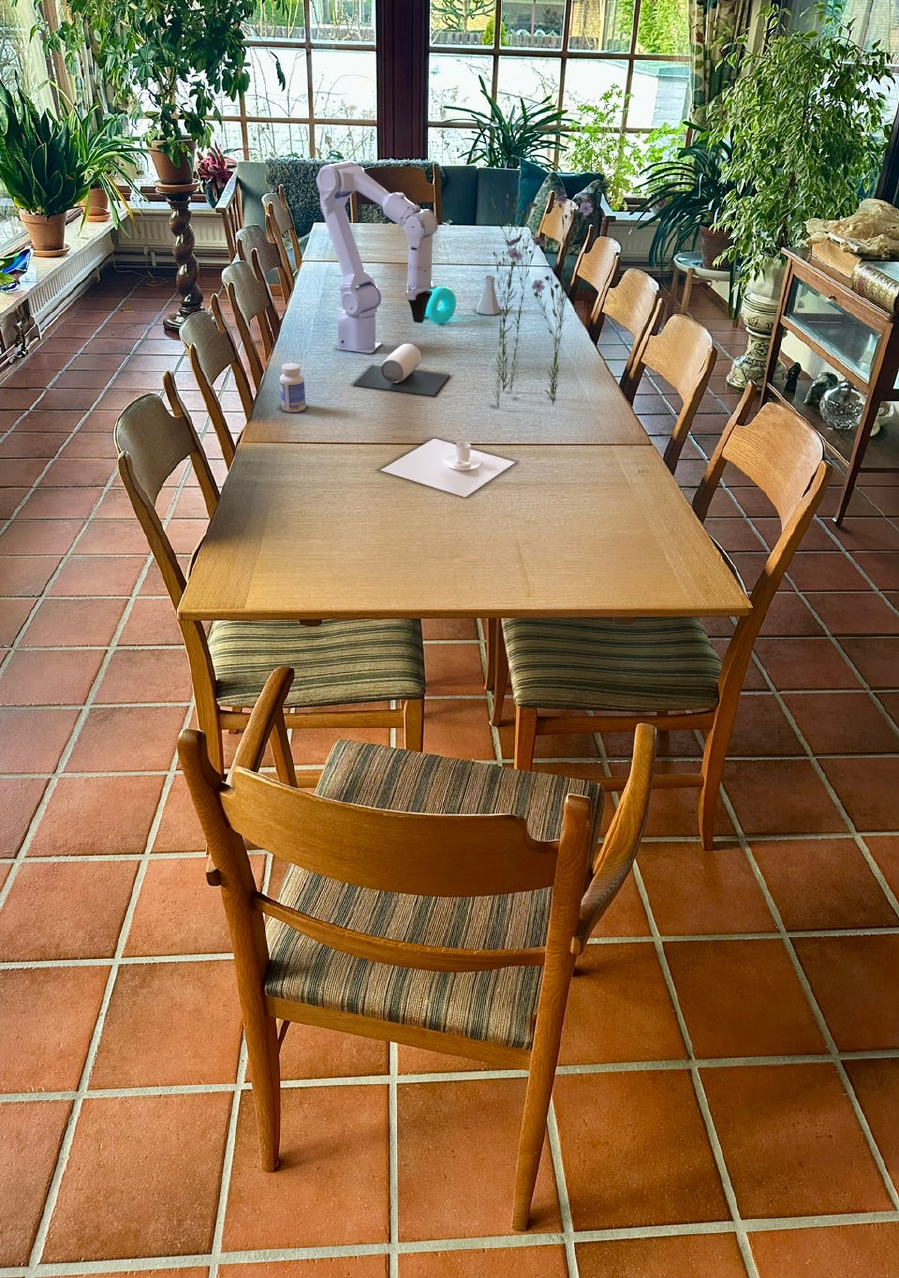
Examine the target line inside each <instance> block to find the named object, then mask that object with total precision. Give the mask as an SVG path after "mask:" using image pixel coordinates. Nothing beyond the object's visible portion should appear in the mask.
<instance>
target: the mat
mask: <svg viewBox="0 0 899 1278" xmlns="http://www.w3.org/2000/svg"><path fill="white" fill-rule="evenodd" d="M381 368H382V365H374V364H373V365H371V366H370V367H369V368H368V369H367V370H366V371H365V372H364V373H363V374H362V375H361V376H360V377H359V378H358V380H356V381H355V382H354V383H353V387H359V388H366V389H374V390H381V391H388V392H394V393H395V392H396V393H403V394H411V395H419V396H426V397H433V398H434V397H435V396H436V395H437V394H438V392H439V391H440V390H441V388H442V387H443V386H444V384H446V382H447V380H448V379H449V378H450V375H449V374H442V373H434V372H428V371H420V370H413V371H412V372H411V373H410V374H409V375H408V376H407V377H406V378H405V379H404V380H403V381H401V382H397V383H390V382H388V381H387V380H386V379H385V378H384V377H383V375H382V372H381Z"/></svg>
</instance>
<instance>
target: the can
mask: <svg viewBox="0 0 899 1278" xmlns="http://www.w3.org/2000/svg"><path fill="white" fill-rule="evenodd" d="M421 355H422V354H421V352H420V350H419V349H418V348H417V346H415V345H414V344H411V343H404V344H401V345H400V346H399V347H397V348H396V349H395V350H394V351H392V352H391V354H389V355H388V356H387V357H386V358H385V359H384V360H383V362H382V365H381V367H382V368H381V372H382V375H383V377H384V378H385V379H386V380H387V381H388V382H390V383H397V382H401V381H403V380H404V379H405V378H406V377H407V376H408V375H409V374H410V373H411V372H412V371H416V369H417V368H418V367H419V365H420V363H421V361H422V356H421Z"/></svg>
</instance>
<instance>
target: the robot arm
mask: <svg viewBox="0 0 899 1278" xmlns="http://www.w3.org/2000/svg"><path fill="white" fill-rule="evenodd" d="M315 182H316V185H317V189H318V192H319V202H320V203H319V204H320V208H321V211H322V214H323V217H324V220H325V223H326V227H327V230H328V233H329V236H330V240H331V242H332V246H333V249H334V252H335V255H336V258H337V261H338V264H339V267H340V270H341V273H342V276H343V279H342V281H341V284H340V286H339V292H340V303H341V307H342V309H343V311H341V312H340V313H339V315H338V319H337V347H336V349H337V350H342V351H347V352H355V353H356V352H357V353H364V354H373V353H374V352H375V351H376V350H377V349H378V348H379V347H380V346H381V342H378V341H376V340H377V338H376V336H377V334H376V331H377V330H376V329H377V328H376V324H377V323H376V321H377V320H376V317H377V315H376V314H377V312H378V308H379V307H380V305H381V303H382V300H383V299H382V297H383V296H382V293H381V290H380V288H379V287H378V286H377V284H376V282H375V281H374V277H373V276H372V275H370V274H369V273H368V272H367V271H365V269H364V265H363V262H362V259H361V256H360V253H359V249H358V246H357V243H356V239H355V236H354V234H353V230H352V227H351V224H350V220H349V217H348V213H347V211H346V204H347V202H348V200H349V198H350V197H351V196H352V194H353V193H355V192H358V193H360V194H362V195H363V196H364V197H366V198H368V199H369V200H371V201H373V202H374V203H375V204H378V205H379V206H381V207H382V212H383V214H384V215H385V216H386V217H387V218H389V220H392V222H394V223H396V224H397V225H398V226H400V227H401V228H402V229H403V232H404V234H405V235H406V241H407V246H408V247H407V248H408V250H407V251H408V252H407V253H408V254H407V282H406V289H407V291H406V293H405V297H406V301H408V304H409V306H410V310H411V316H412V320H413V323H417V324H418V323H419V324H422V323H424V320H425V318H426V317H425V313H426V308H427V305H428V302H429V299H430V297H431V296H432V291H427V290H430V289H435V288H436V286H437V284H435V283H434V284H435V285H434V284H432V283H431V282H432V278H433V277H432V274H433V273H432V272H433V271H432V269H433V268H432V267H433V243H434V242H433V240H434V239H433V238H434V237H433V236H434V235H435V234H436V232H437V231H438V227H439V222H438V219H437V218H438V217H437V216H436V214H435V213H434V212H433V211H432V210H431V209H428V208H426V209H421V206H419V205H418V204H414V203H413V202H411V201H410V200H409V199H407V198H406V194H404V193H403V192H392V193H391V192H389V191H388V190H387V189H385V188H384V187H383V186H382V185H381V184H379V183H378V182H377V181H376V180H375V179H374V178H372V177H370V175H368V174H367V173H366V172H365V170H364V167H363V166H361V165H358V164H357V162H354V161H353V160H347V161H345V162H339V163H334V164H325V165H323V166H322V167H321V168H320V169H319V171H318V174H317V177H316V179H315Z"/></svg>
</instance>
